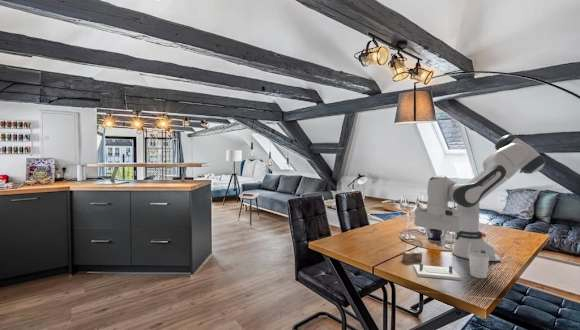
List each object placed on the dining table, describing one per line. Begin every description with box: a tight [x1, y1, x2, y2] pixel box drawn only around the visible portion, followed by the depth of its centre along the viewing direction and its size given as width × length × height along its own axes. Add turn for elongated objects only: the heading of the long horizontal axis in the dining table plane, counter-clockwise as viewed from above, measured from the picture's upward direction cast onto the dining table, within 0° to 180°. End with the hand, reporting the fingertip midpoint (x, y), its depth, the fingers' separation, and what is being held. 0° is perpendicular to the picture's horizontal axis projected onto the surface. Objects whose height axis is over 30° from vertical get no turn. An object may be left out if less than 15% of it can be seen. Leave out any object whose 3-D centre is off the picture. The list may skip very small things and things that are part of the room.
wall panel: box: [413, 262, 462, 281], centre depth 139 cm, size 18×12×4 cm, turn 77°
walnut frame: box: [402, 250, 423, 264], centre depth 155 cm, size 9×4×5 cm, turn 104°
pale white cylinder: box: [468, 252, 490, 279], centre depth 137 cm, size 8×8×10 cm
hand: (436, 238), depth 139 cm, fingers open, 4 cm apart
